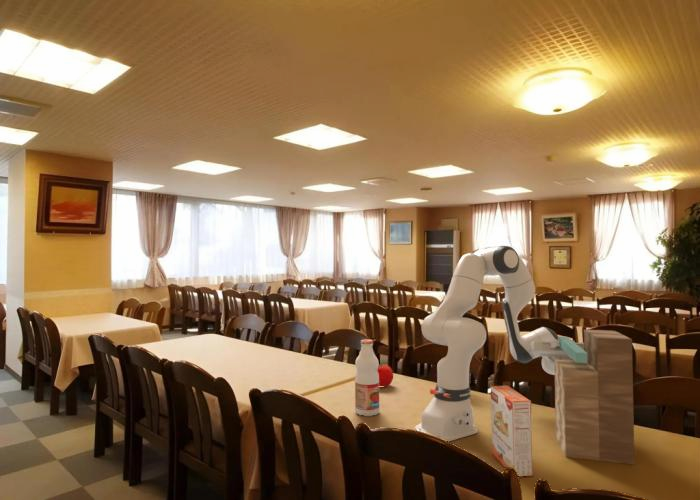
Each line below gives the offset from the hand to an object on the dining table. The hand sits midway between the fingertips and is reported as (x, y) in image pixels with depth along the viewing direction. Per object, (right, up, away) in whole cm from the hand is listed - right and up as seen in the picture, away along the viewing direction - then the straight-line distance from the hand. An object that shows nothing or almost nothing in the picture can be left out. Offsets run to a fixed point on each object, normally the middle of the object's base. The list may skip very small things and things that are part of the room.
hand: (565, 342), depth 145 cm
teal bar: (-2, -2, -8) cm, 8 cm away
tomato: (-60, -32, +52) cm, 86 cm away
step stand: (+1, -30, -14) cm, 33 cm away
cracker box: (-28, -31, -24) cm, 48 cm away
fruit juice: (-68, -32, +19) cm, 77 cm away
